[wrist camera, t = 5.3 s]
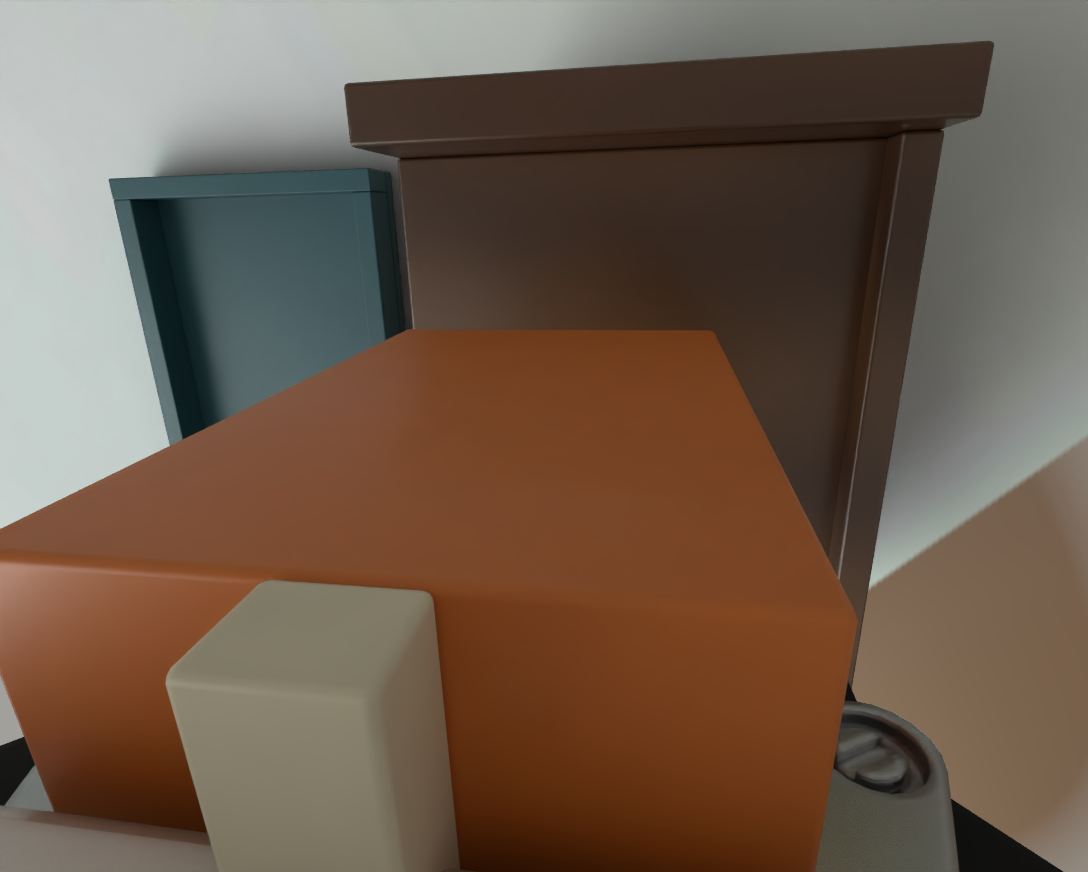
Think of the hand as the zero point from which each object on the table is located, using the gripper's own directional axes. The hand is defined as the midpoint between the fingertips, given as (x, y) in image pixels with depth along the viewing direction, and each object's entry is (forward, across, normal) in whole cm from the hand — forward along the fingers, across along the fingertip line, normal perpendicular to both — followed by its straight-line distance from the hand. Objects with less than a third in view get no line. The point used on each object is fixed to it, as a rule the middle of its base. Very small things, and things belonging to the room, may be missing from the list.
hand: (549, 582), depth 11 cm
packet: (+1, 0, 0) cm, 1 cm away
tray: (+17, +14, +1) cm, 22 cm away
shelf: (+17, -1, +1) cm, 17 cm away
